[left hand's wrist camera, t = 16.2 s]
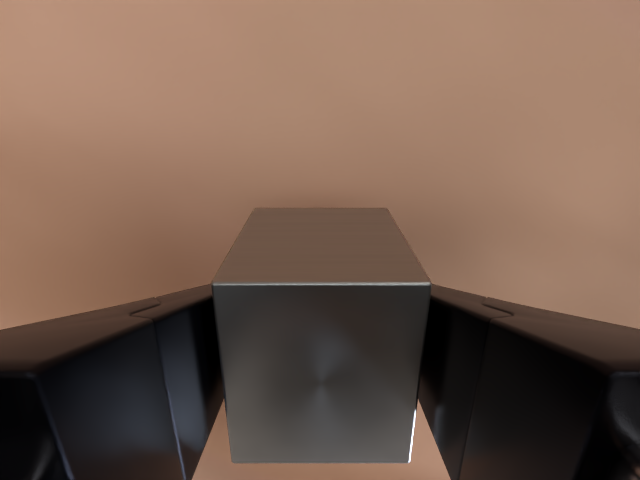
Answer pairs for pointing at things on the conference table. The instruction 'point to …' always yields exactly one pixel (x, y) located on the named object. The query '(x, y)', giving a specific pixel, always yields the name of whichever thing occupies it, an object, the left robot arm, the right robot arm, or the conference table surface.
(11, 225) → the conference table surface
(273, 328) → the grey metal block
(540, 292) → the conference table surface
